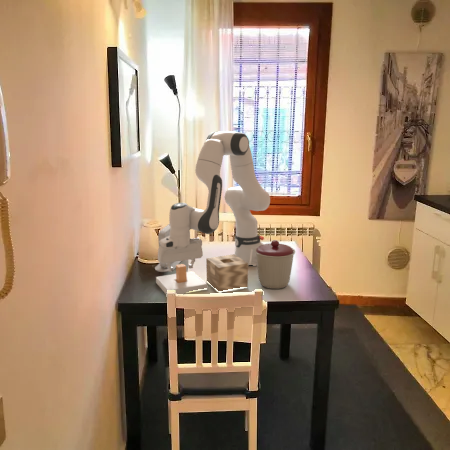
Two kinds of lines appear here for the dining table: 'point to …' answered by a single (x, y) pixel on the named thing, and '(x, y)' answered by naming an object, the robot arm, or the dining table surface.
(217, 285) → the notched wooden cube
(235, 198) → the robot arm
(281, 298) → the dining table surface
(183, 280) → the peg
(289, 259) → the canister
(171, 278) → the socket plate
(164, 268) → the wireless router
